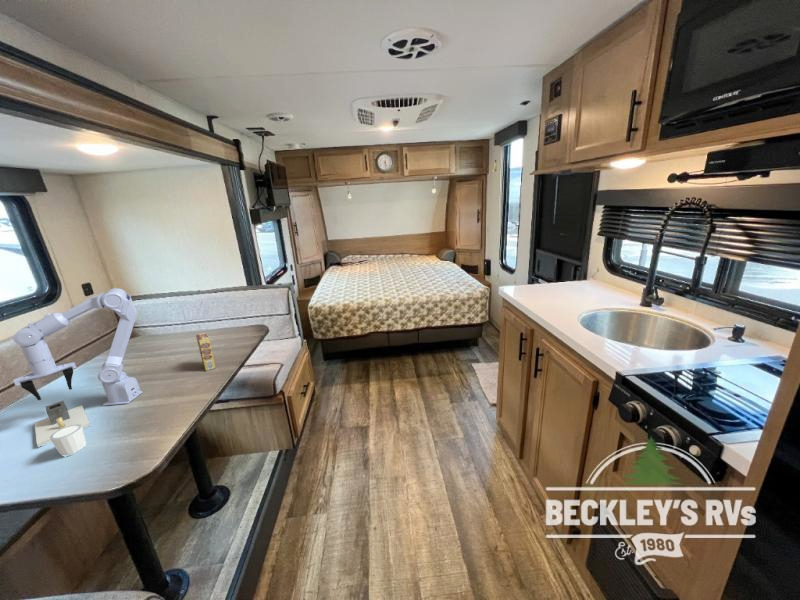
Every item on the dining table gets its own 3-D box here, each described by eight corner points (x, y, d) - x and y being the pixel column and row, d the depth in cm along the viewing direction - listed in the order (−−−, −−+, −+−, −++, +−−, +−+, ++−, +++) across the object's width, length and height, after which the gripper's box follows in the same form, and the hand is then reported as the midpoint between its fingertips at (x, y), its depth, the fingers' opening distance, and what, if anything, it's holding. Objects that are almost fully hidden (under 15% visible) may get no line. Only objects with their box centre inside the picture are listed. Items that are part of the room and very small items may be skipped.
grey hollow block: (50, 418, 110) (45, 406, 108) (68, 412, 113) (63, 400, 111) (52, 425, 106) (46, 412, 104) (70, 418, 109) (64, 406, 108)
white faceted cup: (95, 441, 99) (88, 422, 97) (74, 457, 92) (65, 438, 90) (74, 443, 98) (65, 424, 97) (51, 459, 92) (42, 440, 90)
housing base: (36, 426, 108) (30, 414, 107) (83, 408, 117) (78, 397, 116) (38, 448, 97) (32, 434, 96) (90, 426, 106) (85, 414, 105)
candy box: (216, 367, 142) (208, 337, 138) (206, 371, 140) (197, 340, 136) (213, 361, 149) (205, 332, 145) (203, 364, 147) (195, 335, 142)
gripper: (68, 349, 114) (81, 381, 118) (7, 365, 104) (24, 400, 108) (71, 353, 110) (84, 386, 114) (7, 371, 99) (25, 407, 103)
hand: (55, 393), depth 111 cm, fingers open, 7 cm apart
